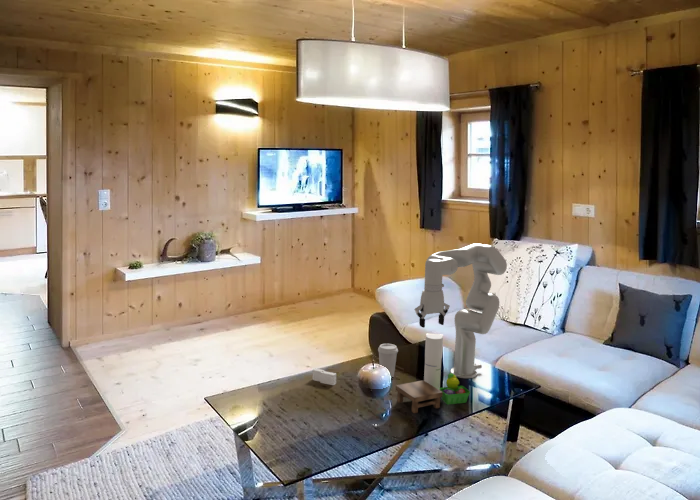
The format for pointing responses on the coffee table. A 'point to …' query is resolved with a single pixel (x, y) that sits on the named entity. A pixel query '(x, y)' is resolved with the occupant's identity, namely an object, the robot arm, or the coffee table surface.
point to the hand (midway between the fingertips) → (431, 325)
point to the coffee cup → (388, 356)
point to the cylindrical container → (433, 360)
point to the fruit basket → (454, 391)
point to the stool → (419, 394)
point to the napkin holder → (324, 376)
